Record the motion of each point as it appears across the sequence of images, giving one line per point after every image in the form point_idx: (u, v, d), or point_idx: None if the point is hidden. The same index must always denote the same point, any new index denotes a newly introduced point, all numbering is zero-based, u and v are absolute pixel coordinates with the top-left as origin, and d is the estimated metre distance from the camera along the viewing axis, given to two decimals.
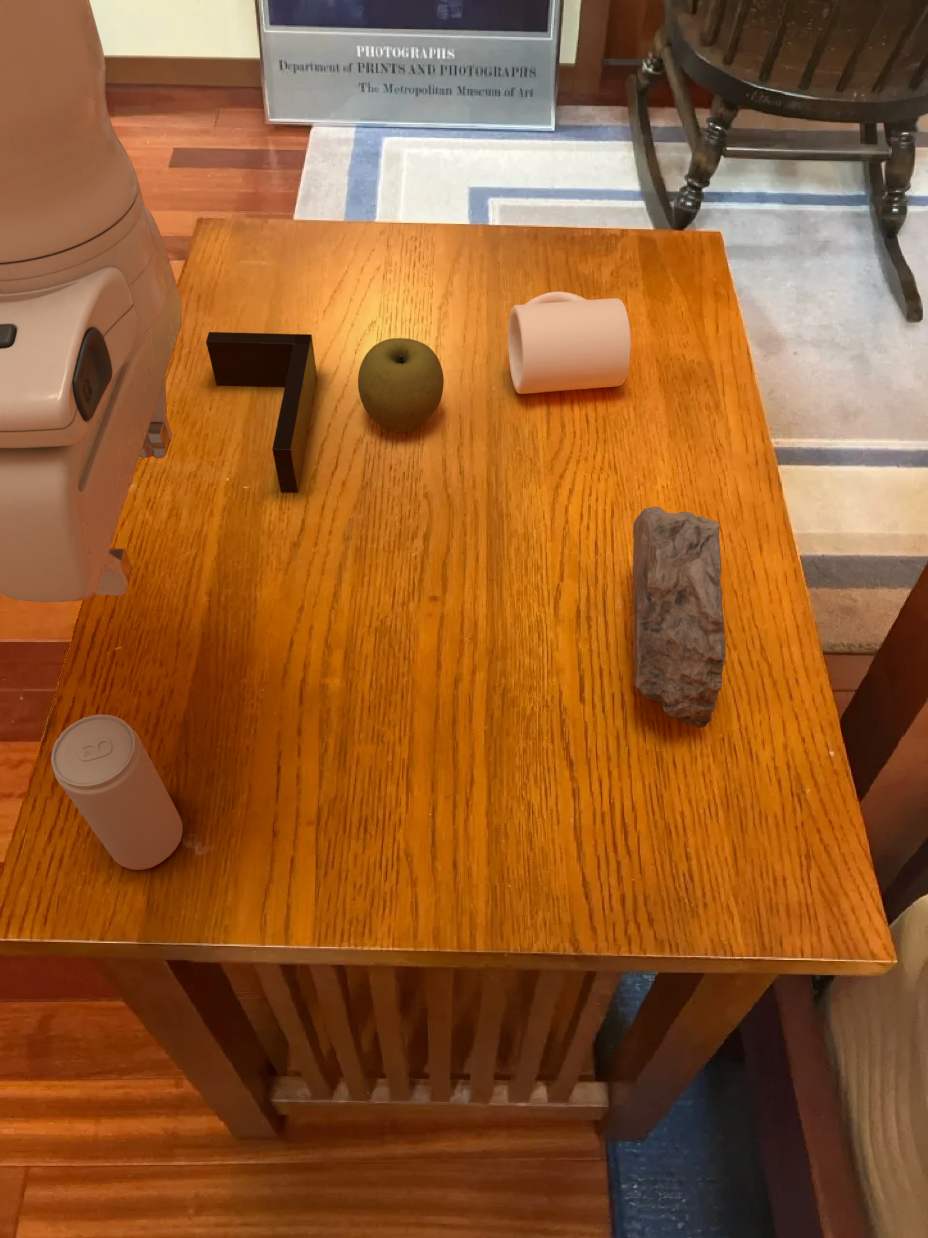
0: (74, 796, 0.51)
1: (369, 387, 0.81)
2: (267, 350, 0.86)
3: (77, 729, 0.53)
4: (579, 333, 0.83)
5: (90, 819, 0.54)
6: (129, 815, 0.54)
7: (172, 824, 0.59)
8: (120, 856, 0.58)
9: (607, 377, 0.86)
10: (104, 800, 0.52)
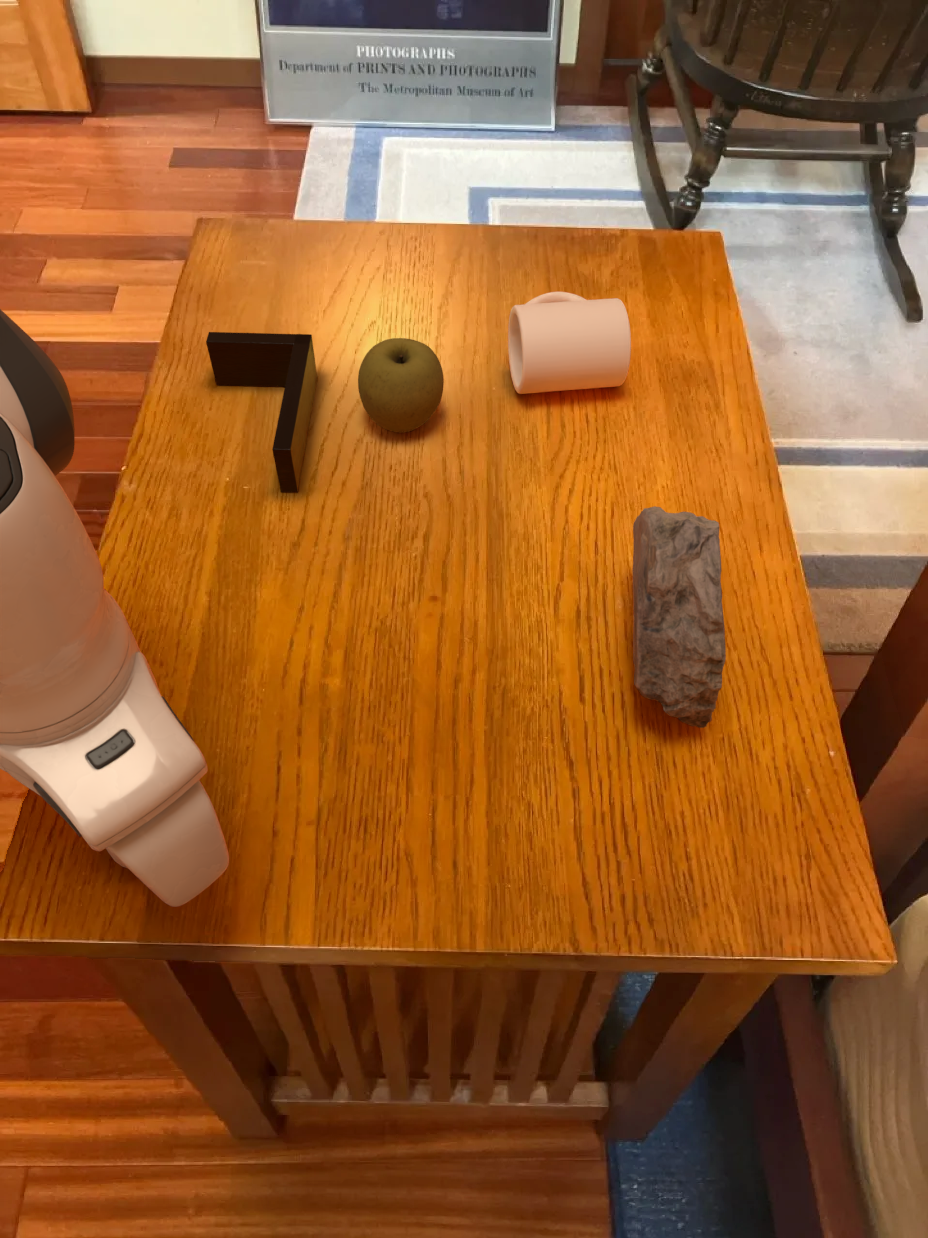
0: None
1: (369, 387, 0.81)
2: (267, 350, 0.86)
3: None
4: (579, 333, 0.83)
5: None
6: None
7: None
8: None
9: (607, 377, 0.86)
10: None
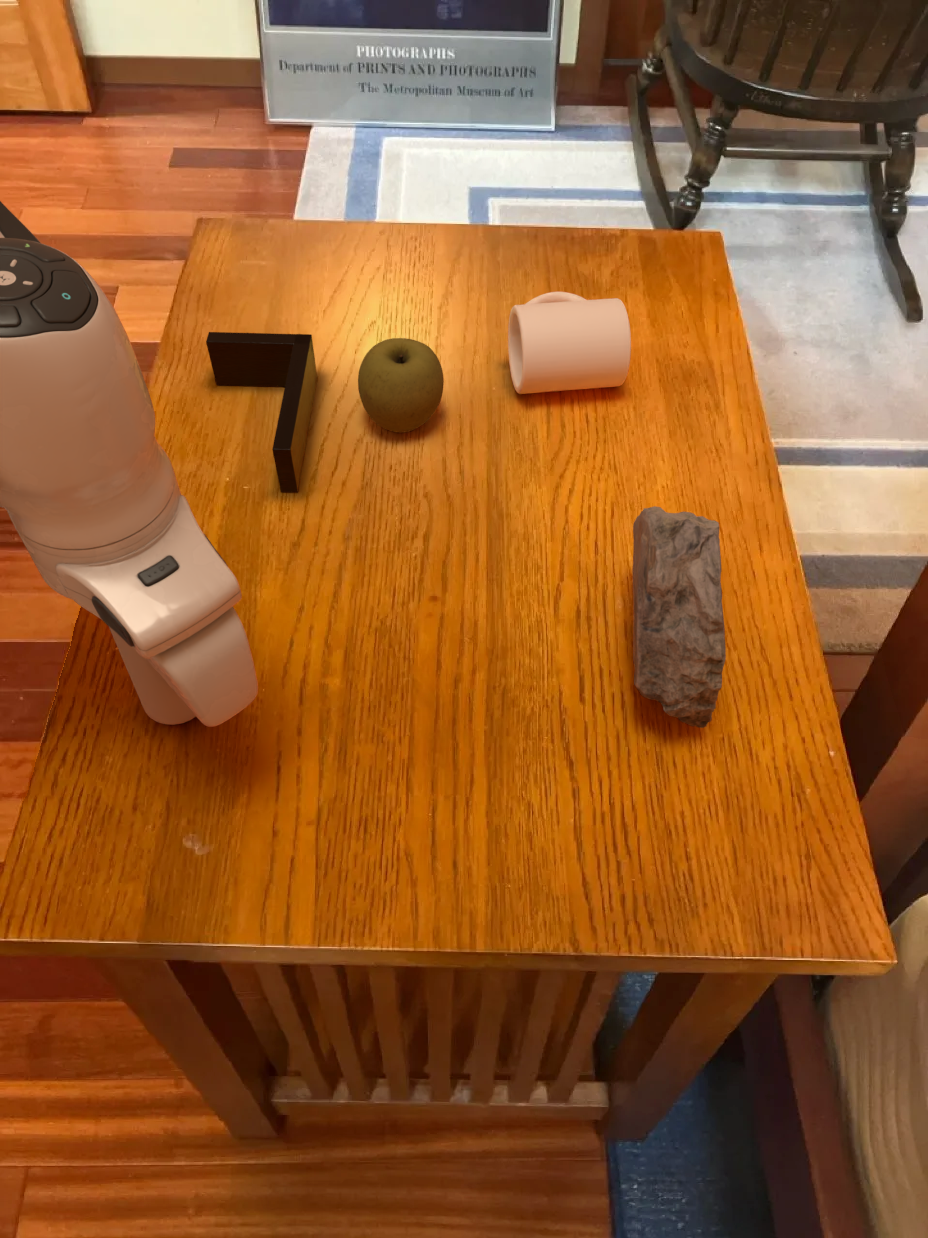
0: None
1: (369, 387, 0.81)
2: (267, 350, 0.86)
3: None
4: (579, 333, 0.83)
5: (132, 662, 0.60)
6: None
7: None
8: (155, 708, 0.64)
9: (607, 377, 0.86)
10: None
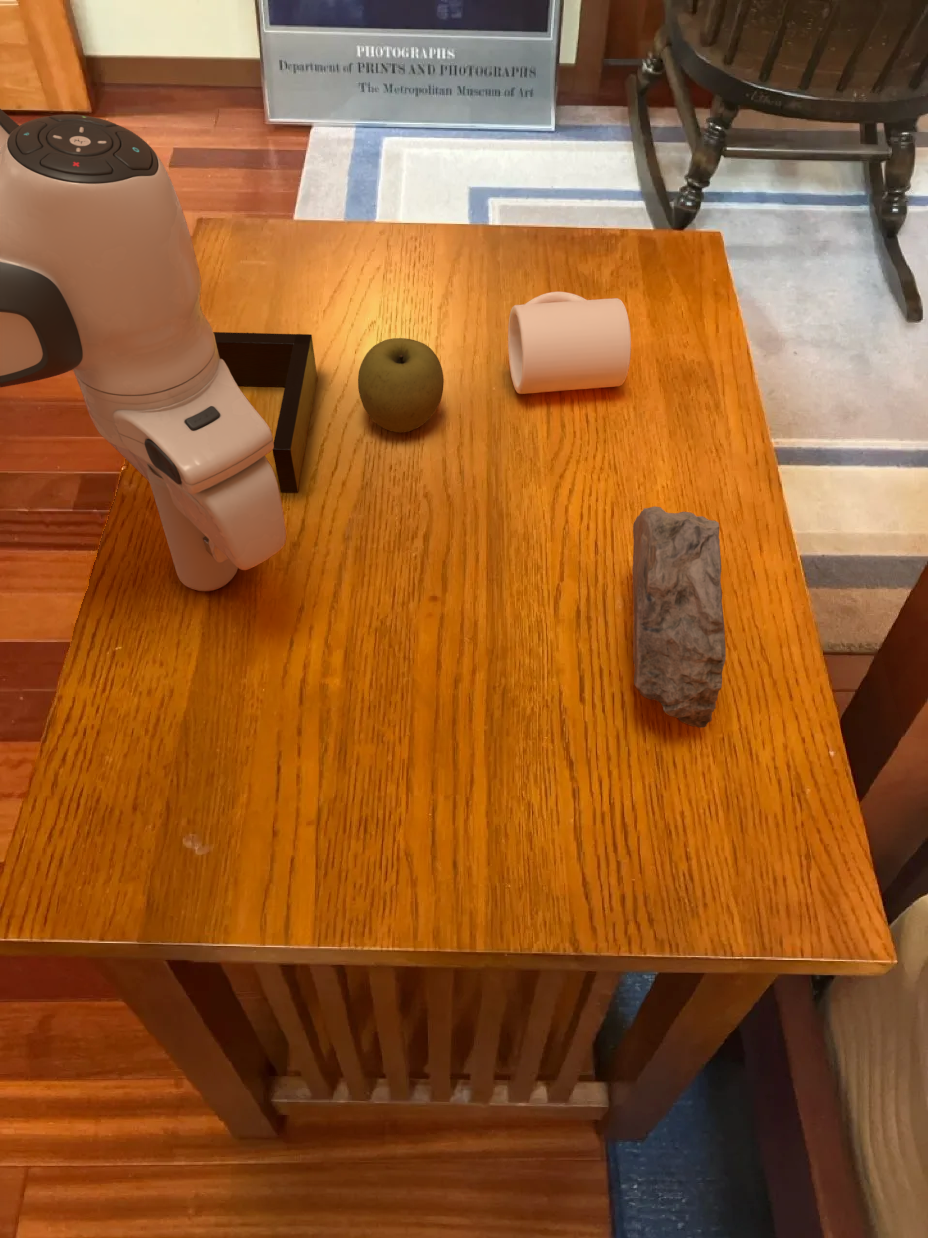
0: (163, 493, 0.65)
1: (369, 387, 0.81)
2: (267, 350, 0.86)
3: None
4: (579, 333, 0.83)
5: (172, 523, 0.67)
6: None
7: None
8: (189, 572, 0.71)
9: (607, 377, 0.86)
10: None
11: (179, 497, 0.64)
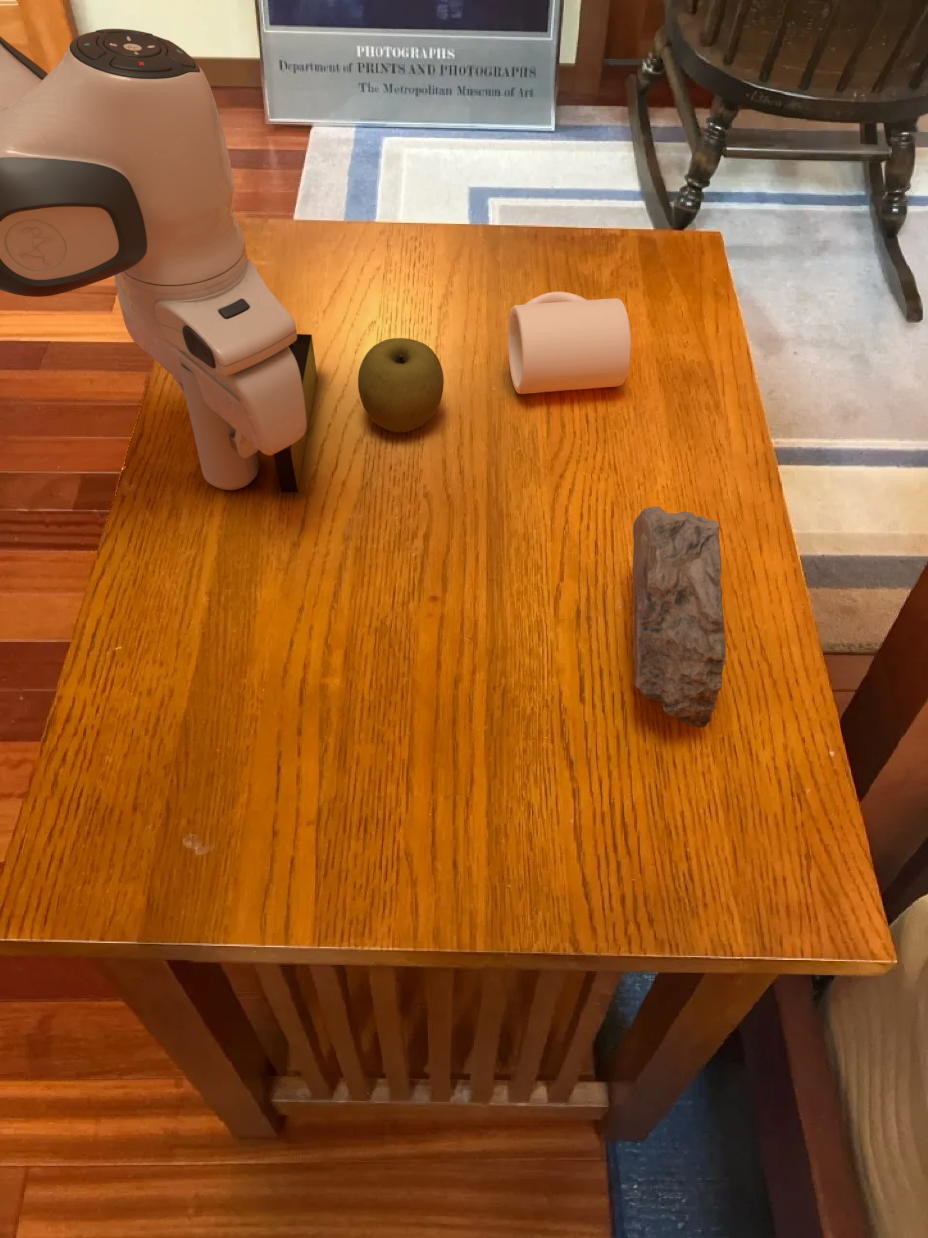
0: (194, 388, 0.72)
1: (369, 387, 0.81)
2: None
3: None
4: (579, 333, 0.83)
5: (201, 419, 0.74)
6: None
7: None
8: (215, 469, 0.78)
9: (607, 377, 0.86)
10: None
11: (209, 391, 0.71)
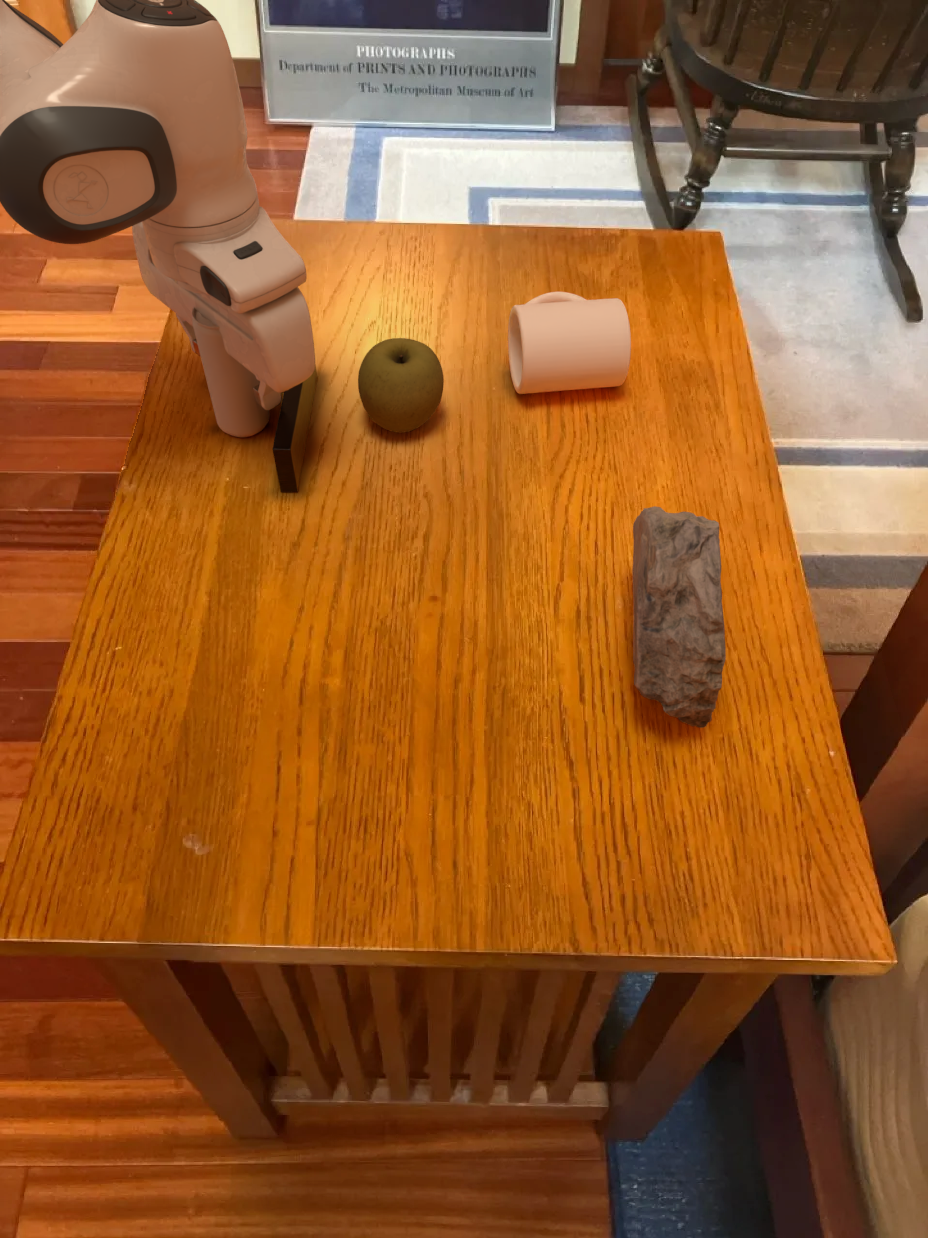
0: (207, 340, 0.76)
1: (369, 387, 0.81)
2: None
3: None
4: (579, 333, 0.83)
5: (214, 369, 0.78)
6: (240, 367, 0.78)
7: None
8: (228, 417, 0.82)
9: (607, 377, 0.86)
10: None
11: (223, 333, 0.75)
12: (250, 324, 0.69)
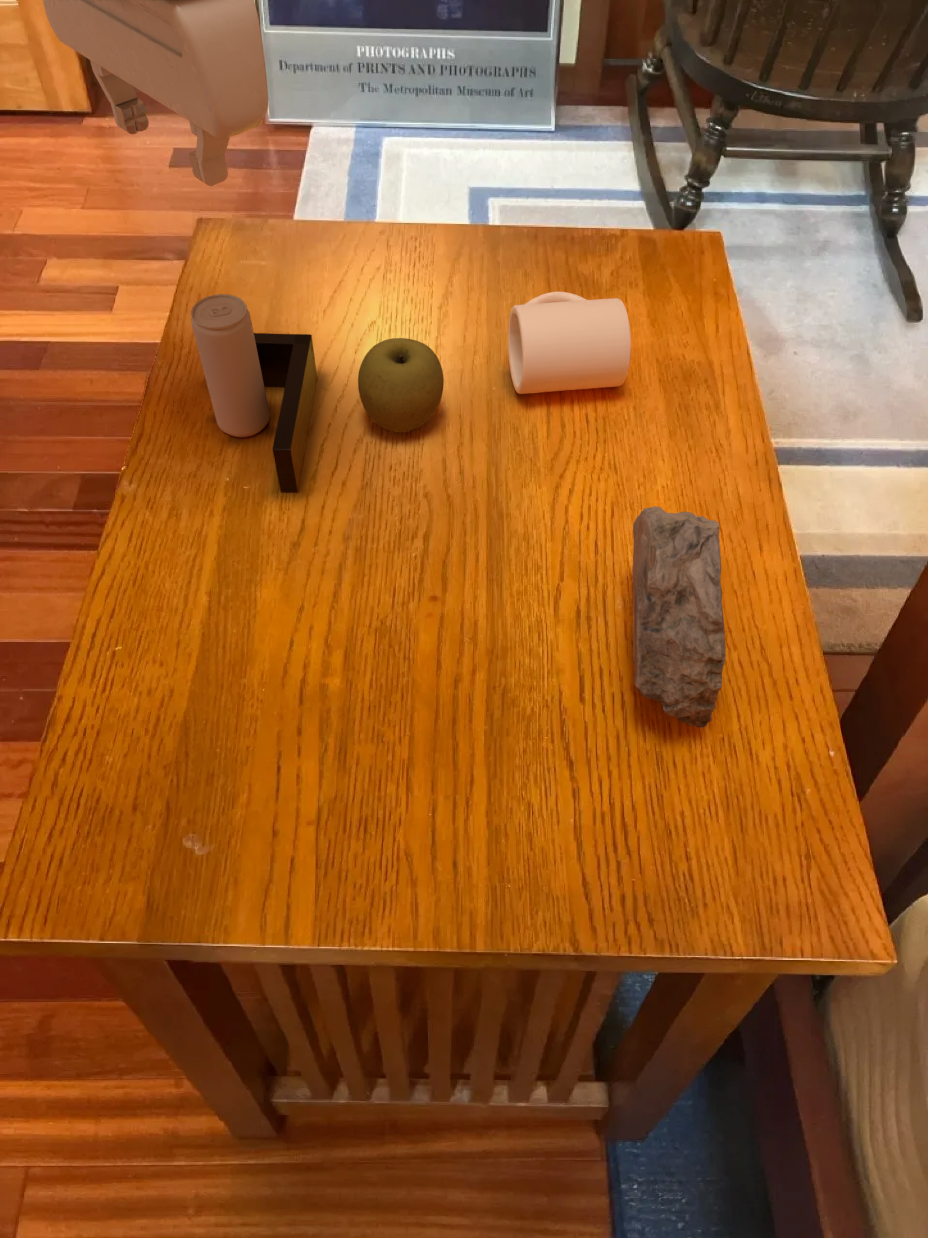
0: (206, 340, 0.76)
1: (369, 387, 0.81)
2: (267, 350, 0.86)
3: (207, 301, 0.77)
4: (579, 333, 0.83)
5: (213, 369, 0.78)
6: (239, 367, 0.78)
7: (264, 400, 0.83)
8: (228, 417, 0.82)
9: (607, 377, 0.86)
10: (225, 344, 0.76)
11: (146, 63, 0.56)
12: (175, 18, 0.50)
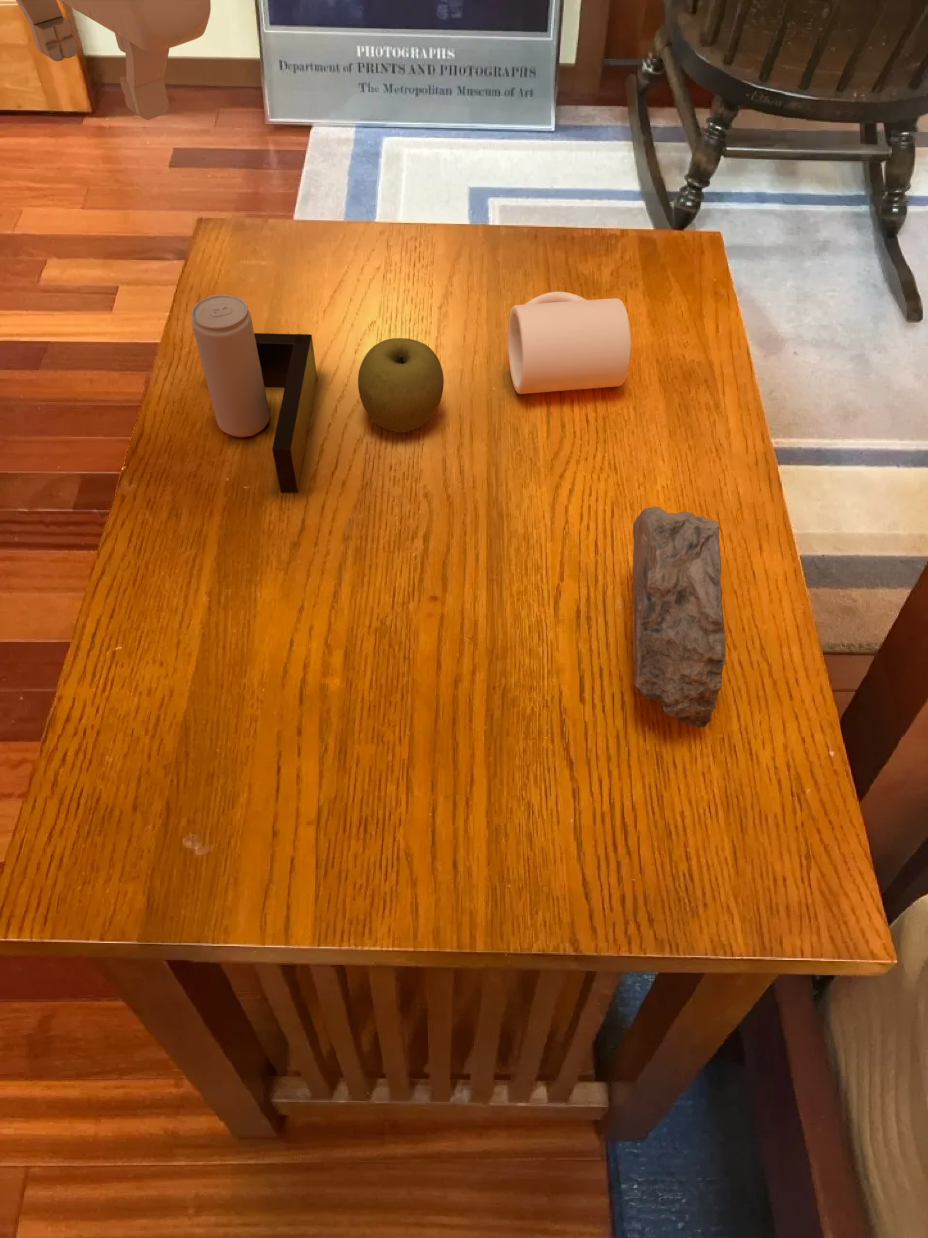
0: (206, 340, 0.76)
1: (369, 387, 0.81)
2: (267, 350, 0.86)
3: (207, 301, 0.77)
4: (579, 333, 0.83)
5: (213, 370, 0.78)
6: (240, 367, 0.78)
7: (264, 400, 0.83)
8: (228, 417, 0.82)
9: (607, 377, 0.86)
10: (226, 344, 0.76)
11: None
12: None
